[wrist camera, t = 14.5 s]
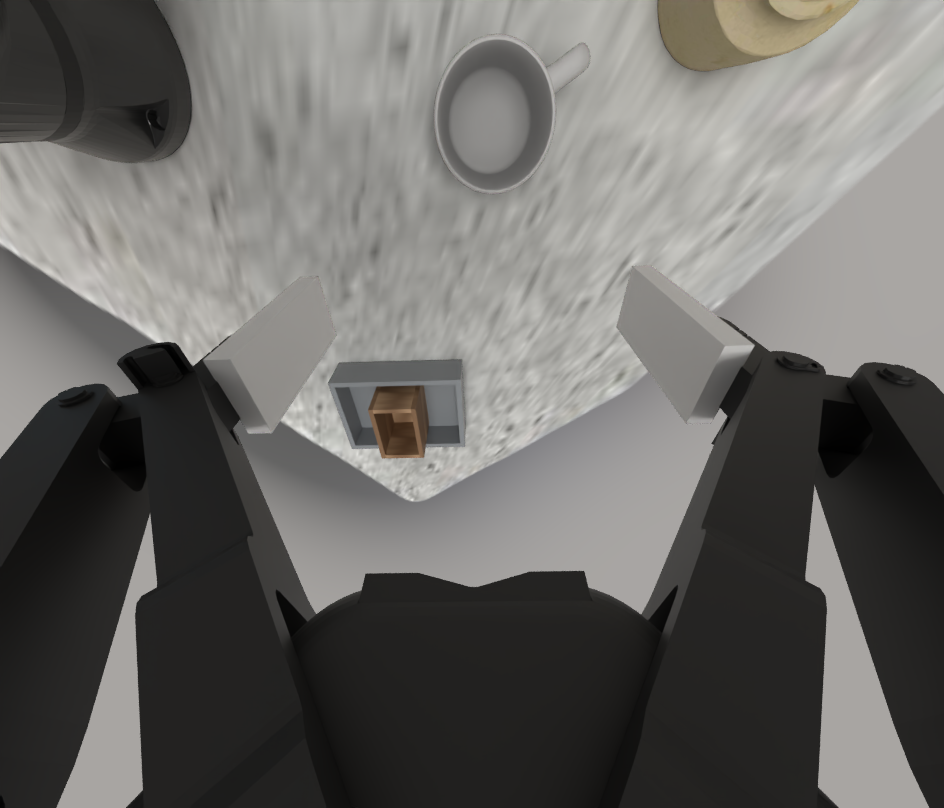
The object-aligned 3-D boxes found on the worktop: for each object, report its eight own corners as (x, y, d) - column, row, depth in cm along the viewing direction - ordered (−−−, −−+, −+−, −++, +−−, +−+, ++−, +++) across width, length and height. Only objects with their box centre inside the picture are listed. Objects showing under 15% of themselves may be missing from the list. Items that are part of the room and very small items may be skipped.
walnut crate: (391, 422, 54) (381, 458, 48) (380, 376, 48) (367, 410, 42) (429, 422, 54) (423, 457, 48) (422, 375, 48) (415, 409, 42)
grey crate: (360, 426, 56) (352, 448, 52) (339, 362, 48) (327, 383, 44) (465, 424, 55) (465, 446, 52) (461, 359, 48) (460, 379, 44)
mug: (472, 197, 35) (472, 219, 27) (425, 103, 31) (406, 93, 22) (584, 120, 31) (625, 117, 23) (548, -1, 27) (583, -62, 18)
